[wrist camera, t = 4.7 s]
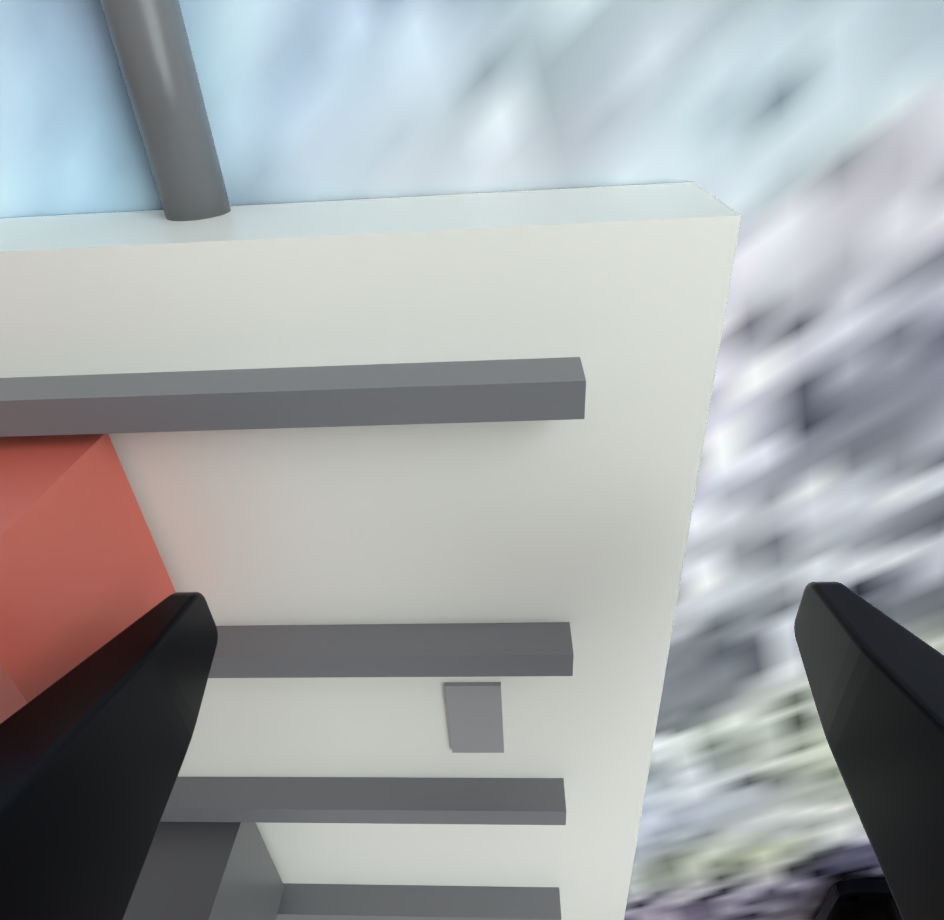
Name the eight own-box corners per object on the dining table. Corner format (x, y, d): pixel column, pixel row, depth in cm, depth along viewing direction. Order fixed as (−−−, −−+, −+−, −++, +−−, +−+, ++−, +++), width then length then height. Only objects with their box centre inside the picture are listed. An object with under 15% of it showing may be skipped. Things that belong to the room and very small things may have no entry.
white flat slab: (611, 844, 22) (627, 957, 19) (156, 840, 23) (111, 946, 20) (751, -274, 8) (890, -449, 5) (-476, -156, 9) (-926, -249, 6)
